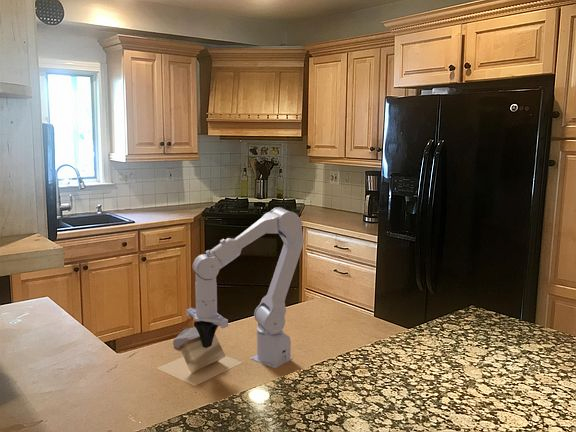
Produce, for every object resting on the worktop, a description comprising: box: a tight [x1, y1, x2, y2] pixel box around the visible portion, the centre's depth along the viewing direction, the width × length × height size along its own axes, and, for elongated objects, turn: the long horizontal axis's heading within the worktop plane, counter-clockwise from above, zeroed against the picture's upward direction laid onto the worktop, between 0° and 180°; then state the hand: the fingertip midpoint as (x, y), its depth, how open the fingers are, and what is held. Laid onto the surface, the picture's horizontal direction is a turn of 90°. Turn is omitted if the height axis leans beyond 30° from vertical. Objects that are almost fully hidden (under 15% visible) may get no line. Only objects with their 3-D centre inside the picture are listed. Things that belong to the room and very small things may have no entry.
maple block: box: [178, 333, 226, 373], centre depth 149 cm, size 4×10×8 cm
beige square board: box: [155, 355, 243, 387], centre depth 150 cm, size 16×18×1 cm
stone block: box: [172, 326, 200, 349], centre depth 167 cm, size 12×5×10 cm
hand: (207, 346), depth 147 cm, fingers closed
